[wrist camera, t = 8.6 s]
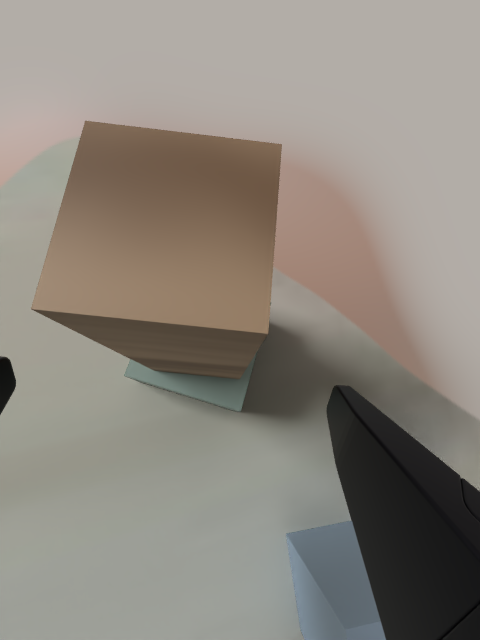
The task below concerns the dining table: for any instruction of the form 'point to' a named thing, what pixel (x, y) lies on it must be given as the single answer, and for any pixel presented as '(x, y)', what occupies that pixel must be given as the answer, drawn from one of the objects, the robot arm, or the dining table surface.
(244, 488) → the dining table surface
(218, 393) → the base block
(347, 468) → the robot arm
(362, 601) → the blue column
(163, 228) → the walnut column
